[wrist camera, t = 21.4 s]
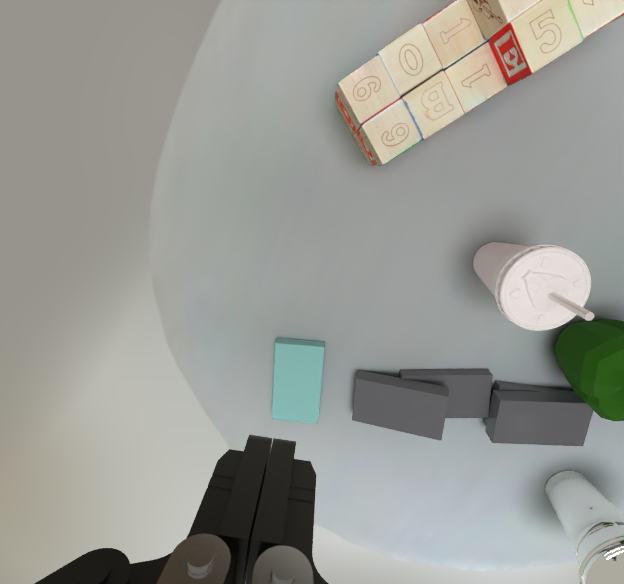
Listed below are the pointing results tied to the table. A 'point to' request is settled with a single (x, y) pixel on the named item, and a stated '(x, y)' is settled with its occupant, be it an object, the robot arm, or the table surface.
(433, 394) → the domino
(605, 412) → the bell pepper
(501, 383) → the domino
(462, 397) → the domino
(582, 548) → the cup with straw
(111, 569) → the robot arm
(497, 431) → the domino
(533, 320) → the smoothie
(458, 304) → the table surface
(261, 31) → the table surface
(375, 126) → the stack of blocks
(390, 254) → the table surface
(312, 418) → the domino
